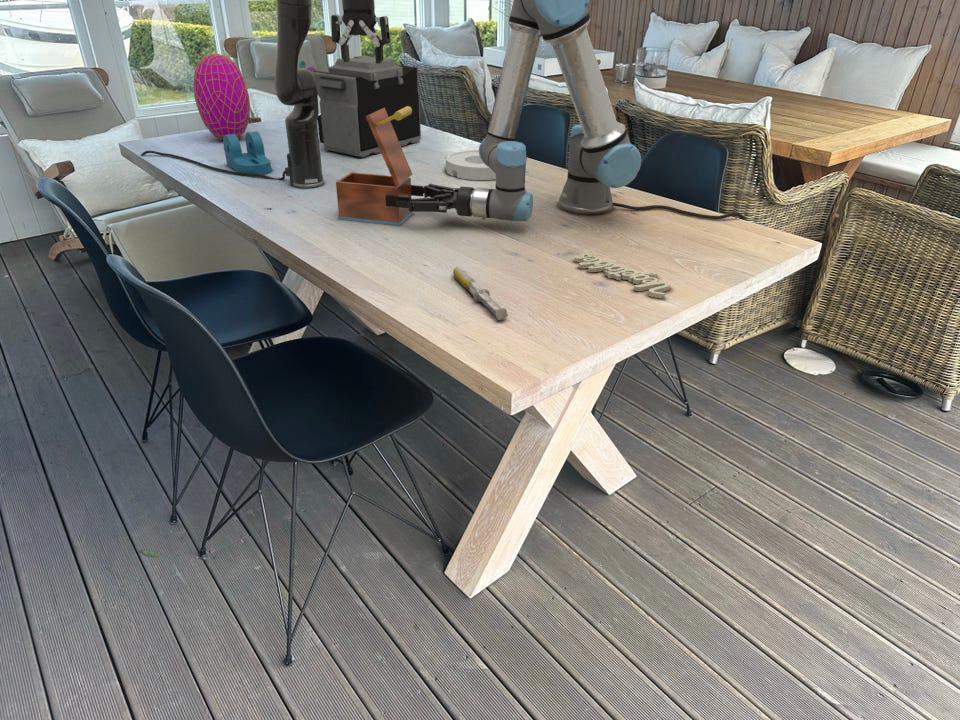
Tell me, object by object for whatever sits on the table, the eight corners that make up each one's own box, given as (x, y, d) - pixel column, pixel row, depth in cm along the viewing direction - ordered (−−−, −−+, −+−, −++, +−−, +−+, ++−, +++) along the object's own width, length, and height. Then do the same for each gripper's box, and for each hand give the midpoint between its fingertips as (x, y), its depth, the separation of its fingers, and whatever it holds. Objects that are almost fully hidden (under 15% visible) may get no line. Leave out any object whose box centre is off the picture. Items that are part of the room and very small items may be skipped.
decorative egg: (219, 147, 253) (203, 59, 238) (193, 139, 264) (176, 54, 249) (265, 139, 265) (252, 54, 250) (238, 131, 276) (225, 50, 261)
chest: (339, 219, 187) (335, 181, 182) (354, 208, 195) (351, 172, 190) (399, 225, 183) (397, 187, 178) (412, 214, 191) (410, 177, 186)
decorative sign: (686, 282, 150) (660, 295, 144) (686, 286, 150) (659, 300, 144) (592, 249, 166) (565, 259, 160) (592, 253, 167) (565, 263, 161)
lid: (365, 116, 171) (395, 104, 167) (380, 109, 179) (409, 97, 175) (395, 185, 178) (424, 175, 174) (408, 175, 186) (436, 165, 182)
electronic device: (383, 133, 276) (378, 52, 261) (425, 141, 265) (422, 56, 250) (314, 150, 251) (304, 61, 235) (358, 160, 240) (350, 67, 224)
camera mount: (227, 164, 233) (221, 132, 227) (257, 160, 238) (252, 129, 233) (244, 176, 220) (239, 143, 215) (276, 172, 225) (271, 139, 220)
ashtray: (448, 160, 240) (448, 149, 238) (514, 162, 240) (514, 150, 238) (443, 179, 220) (443, 166, 218) (515, 180, 220) (515, 168, 218)
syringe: (449, 274, 155) (449, 263, 153) (465, 272, 156) (464, 260, 154) (490, 323, 135) (491, 310, 133) (508, 319, 136) (508, 307, 134)
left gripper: (391, -12, 162) (395, 62, 171) (336, -14, 166) (342, 59, 174) (379, -11, 156) (383, 66, 164) (322, -13, 159) (329, 63, 168)
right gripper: (461, 230, 172) (378, 221, 177) (484, 203, 191) (408, 196, 196) (461, 200, 168) (376, 192, 173) (484, 176, 187) (407, 170, 192)
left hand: (362, 62), depth 169 cm, fingers open, 8 cm apart
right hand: (393, 194), depth 184 cm, fingers closed on chest, 10 cm apart
